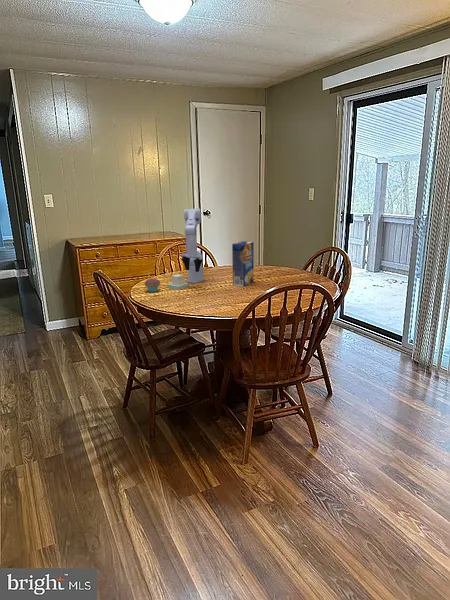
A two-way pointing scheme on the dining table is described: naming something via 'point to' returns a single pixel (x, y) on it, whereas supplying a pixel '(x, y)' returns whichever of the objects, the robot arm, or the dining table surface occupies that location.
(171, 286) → the base
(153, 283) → the cupcake
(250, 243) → the juice carton
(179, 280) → the block
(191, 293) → the dining table surface
